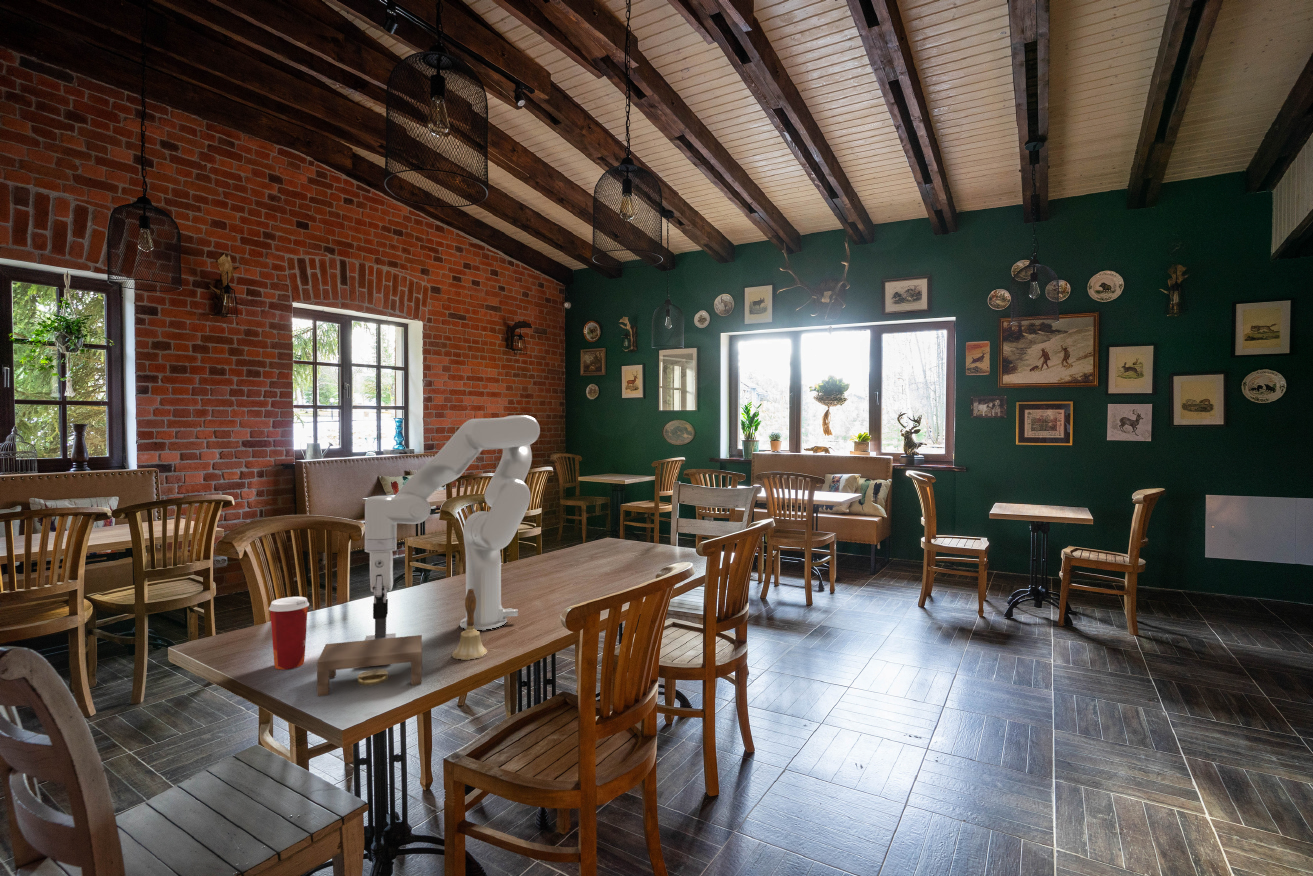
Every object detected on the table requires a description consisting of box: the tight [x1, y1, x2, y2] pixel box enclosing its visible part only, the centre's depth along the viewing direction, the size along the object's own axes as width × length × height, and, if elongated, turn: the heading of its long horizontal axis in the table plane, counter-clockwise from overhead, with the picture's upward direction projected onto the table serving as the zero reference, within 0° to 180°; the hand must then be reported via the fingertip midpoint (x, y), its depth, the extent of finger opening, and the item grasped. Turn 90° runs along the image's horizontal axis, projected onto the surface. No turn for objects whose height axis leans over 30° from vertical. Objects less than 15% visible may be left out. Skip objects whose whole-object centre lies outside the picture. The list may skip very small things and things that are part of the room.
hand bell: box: [451, 589, 488, 661], centre depth 159 cm, size 8×8×16 cm
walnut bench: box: [316, 634, 423, 697], centre depth 143 cm, size 20×12×7 cm, turn 109°
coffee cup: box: [268, 596, 310, 671], centre depth 152 cm, size 8×8×15 cm
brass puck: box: [357, 668, 389, 686], centre depth 143 cm, size 6×6×2 cm
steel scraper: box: [364, 588, 397, 640], centre depth 159 cm, size 7×19×15 cm, turn 19°
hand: (380, 616), depth 167 cm, fingers closed on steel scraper, 2 cm apart
